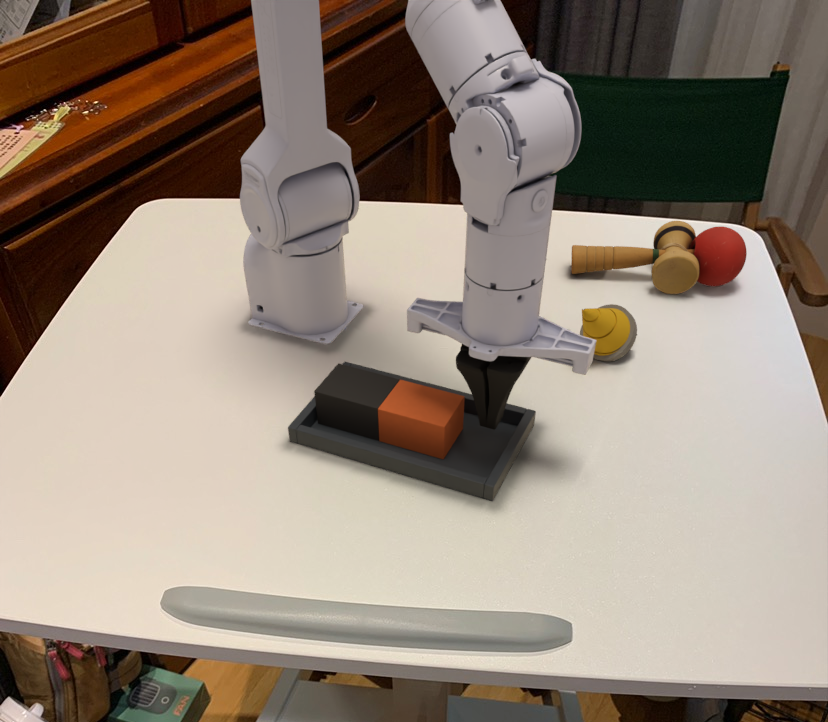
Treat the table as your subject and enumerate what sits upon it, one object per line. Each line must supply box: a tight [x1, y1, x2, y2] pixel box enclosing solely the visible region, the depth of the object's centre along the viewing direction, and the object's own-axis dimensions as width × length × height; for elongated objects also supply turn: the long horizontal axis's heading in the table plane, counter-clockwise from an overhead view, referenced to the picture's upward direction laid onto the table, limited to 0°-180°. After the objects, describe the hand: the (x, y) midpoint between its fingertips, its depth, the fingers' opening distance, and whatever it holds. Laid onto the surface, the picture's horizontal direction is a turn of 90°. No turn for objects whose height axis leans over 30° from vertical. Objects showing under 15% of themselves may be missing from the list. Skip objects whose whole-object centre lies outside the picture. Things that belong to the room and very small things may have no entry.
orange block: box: [378, 380, 465, 459], centre depth 70 cm, size 6×4×4 cm
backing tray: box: [287, 360, 537, 502], centre depth 71 cm, size 19×11×2 cm, turn 66°
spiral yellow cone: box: [579, 303, 638, 363], centre depth 77 cm, size 5×5×10 cm
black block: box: [313, 362, 400, 441], centre depth 72 cm, size 6×4×4 cm
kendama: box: [570, 220, 747, 295], centre depth 88 cm, size 8×6×18 cm
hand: (491, 420), depth 69 cm, fingers closed
